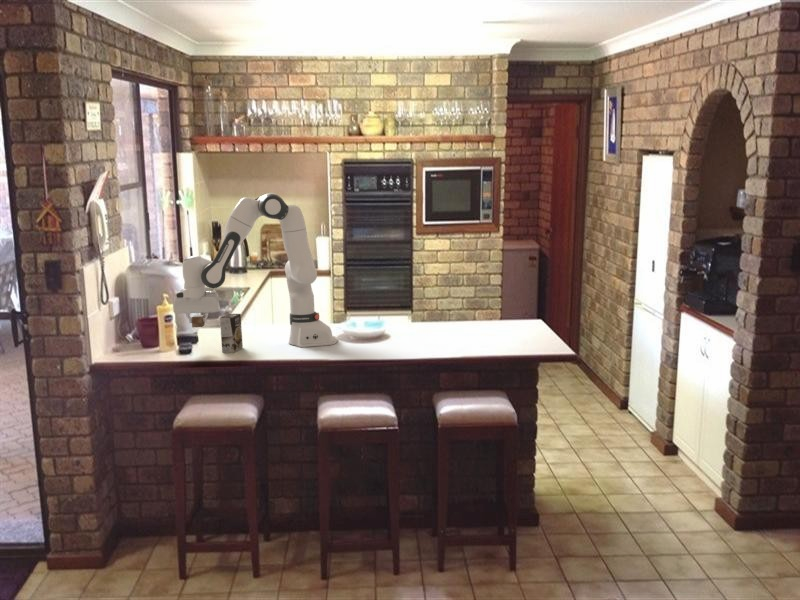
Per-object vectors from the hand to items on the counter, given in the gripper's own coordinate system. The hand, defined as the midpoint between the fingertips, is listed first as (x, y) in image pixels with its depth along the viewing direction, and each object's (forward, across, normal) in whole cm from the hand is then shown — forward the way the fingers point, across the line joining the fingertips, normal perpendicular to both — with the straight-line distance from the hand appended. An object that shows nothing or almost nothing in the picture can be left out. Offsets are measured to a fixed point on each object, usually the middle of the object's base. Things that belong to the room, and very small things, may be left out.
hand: (198, 322), depth 331 cm
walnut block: (+2, 0, 0) cm, 2 cm away
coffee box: (+14, -14, 0) cm, 20 cm away
